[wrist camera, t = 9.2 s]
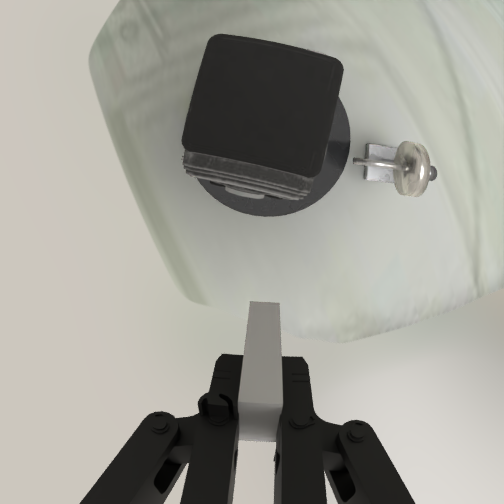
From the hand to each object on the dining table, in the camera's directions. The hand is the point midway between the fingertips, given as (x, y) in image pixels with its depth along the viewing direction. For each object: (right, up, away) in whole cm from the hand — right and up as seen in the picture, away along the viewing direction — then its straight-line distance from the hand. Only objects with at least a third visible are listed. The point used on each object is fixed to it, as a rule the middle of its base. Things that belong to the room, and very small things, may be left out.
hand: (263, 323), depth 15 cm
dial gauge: (+12, +14, +14) cm, 23 cm away
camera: (+1, +16, +14) cm, 21 cm away
